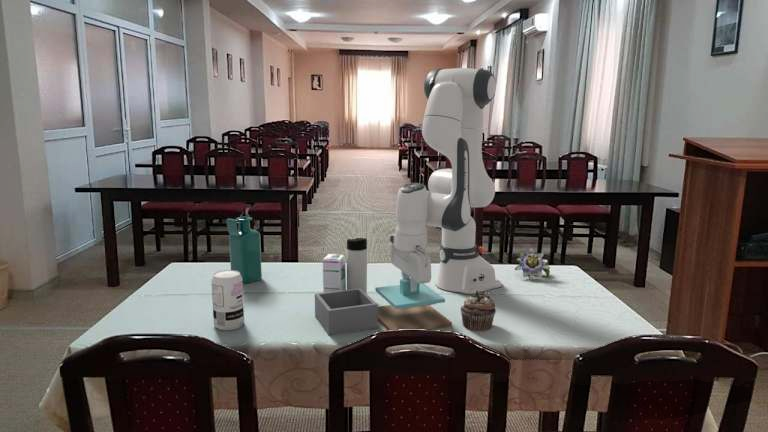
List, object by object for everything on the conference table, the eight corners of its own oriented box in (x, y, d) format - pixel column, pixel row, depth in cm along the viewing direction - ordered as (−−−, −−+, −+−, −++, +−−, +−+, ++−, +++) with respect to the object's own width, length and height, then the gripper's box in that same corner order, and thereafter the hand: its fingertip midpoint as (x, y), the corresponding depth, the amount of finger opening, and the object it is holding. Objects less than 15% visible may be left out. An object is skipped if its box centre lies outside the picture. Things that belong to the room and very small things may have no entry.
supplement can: (217, 320, 164) (214, 269, 161) (246, 319, 165) (244, 269, 161) (211, 331, 156) (208, 279, 153) (242, 331, 157) (239, 278, 153)
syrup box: (341, 305, 176) (341, 259, 173) (322, 303, 177) (322, 258, 174) (346, 298, 182) (346, 254, 179) (328, 297, 183) (327, 253, 180)
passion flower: (530, 293, 204) (513, 269, 199) (522, 278, 214) (507, 254, 209) (558, 278, 201) (542, 252, 197) (550, 263, 211) (534, 239, 207)
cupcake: (490, 318, 167) (492, 286, 165) (497, 332, 158) (499, 298, 155) (457, 318, 167) (458, 286, 165) (463, 332, 157) (464, 298, 155)
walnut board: (423, 304, 178) (423, 300, 177) (451, 326, 161) (451, 322, 161) (369, 311, 171) (369, 307, 171) (392, 335, 155) (392, 331, 155)
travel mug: (352, 304, 177) (352, 241, 173) (343, 297, 183) (343, 236, 178) (370, 301, 180) (370, 239, 175) (361, 294, 185) (361, 234, 181)
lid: (421, 288, 174) (422, 269, 173) (444, 305, 161) (445, 285, 160) (375, 294, 169) (375, 274, 168) (395, 312, 155) (395, 291, 154)
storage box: (360, 310, 172) (360, 288, 171) (377, 328, 160) (377, 304, 158) (315, 316, 167) (314, 293, 166) (328, 335, 154) (328, 310, 153)
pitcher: (247, 273, 205) (245, 213, 200) (264, 278, 200) (262, 216, 195) (225, 280, 197) (222, 218, 192) (242, 285, 192) (239, 221, 187)
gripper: (437, 250, 153) (436, 299, 156) (406, 232, 172) (405, 276, 175) (416, 252, 151) (415, 302, 154) (387, 234, 169) (386, 279, 172)
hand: (409, 288), depth 164 cm, fingers closed on lid, 2 cm apart
